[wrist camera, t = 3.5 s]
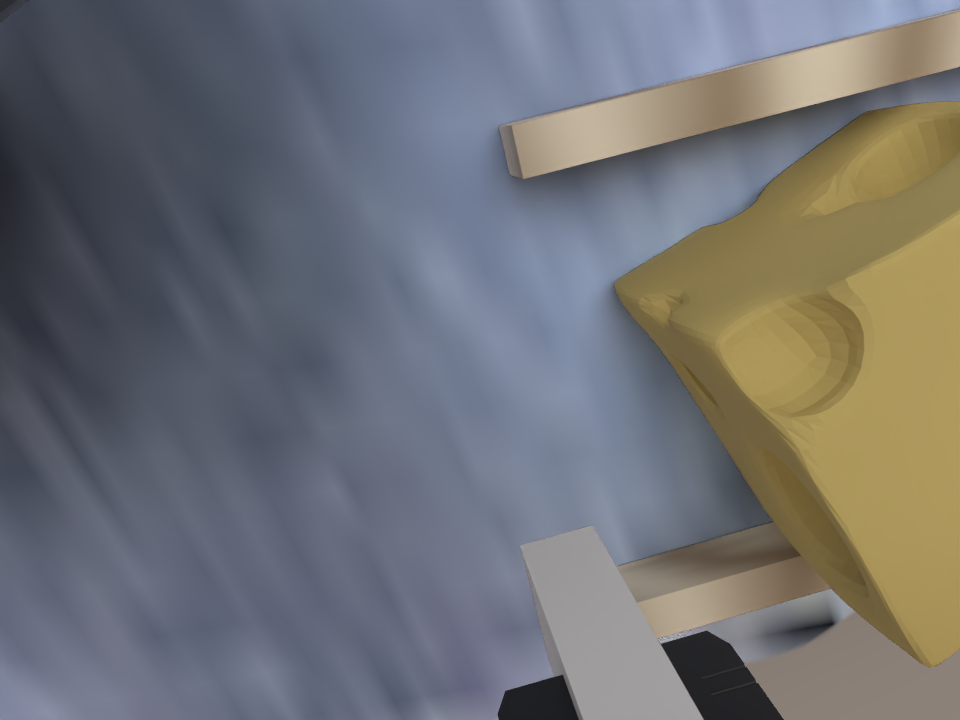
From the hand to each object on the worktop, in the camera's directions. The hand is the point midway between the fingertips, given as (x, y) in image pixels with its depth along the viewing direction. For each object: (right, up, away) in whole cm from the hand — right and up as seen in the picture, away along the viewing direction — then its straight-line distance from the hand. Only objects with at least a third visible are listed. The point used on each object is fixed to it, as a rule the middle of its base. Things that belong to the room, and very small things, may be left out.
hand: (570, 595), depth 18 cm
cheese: (+9, +6, +12) cm, 17 cm away
